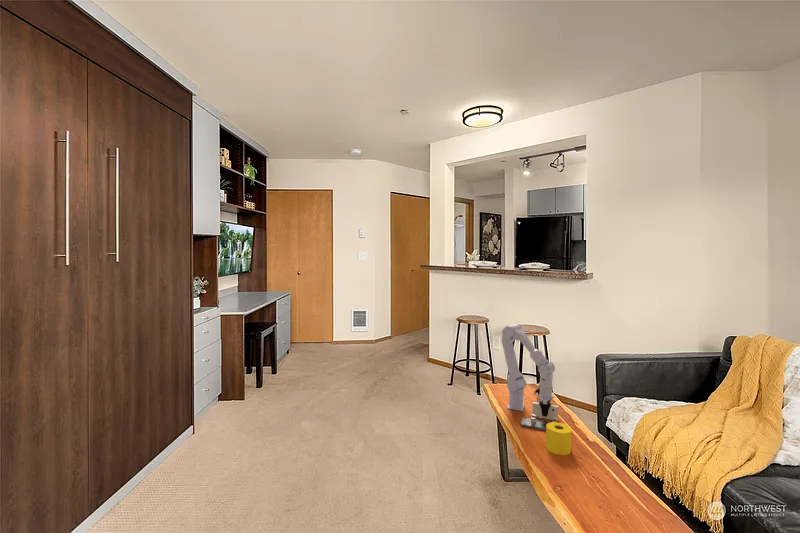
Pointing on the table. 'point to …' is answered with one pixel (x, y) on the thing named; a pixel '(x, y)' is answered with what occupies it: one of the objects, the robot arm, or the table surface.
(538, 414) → the cabinet door
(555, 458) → the table surface
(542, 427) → the rail
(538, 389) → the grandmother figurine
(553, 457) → the table surface
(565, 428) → the tape roll
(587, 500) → the table surface
